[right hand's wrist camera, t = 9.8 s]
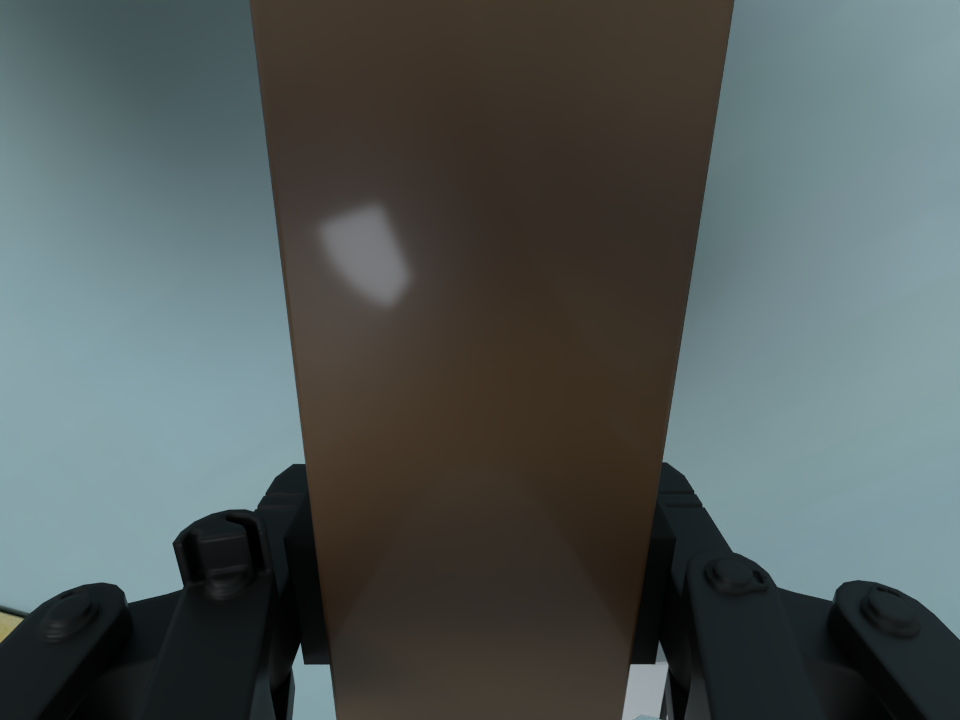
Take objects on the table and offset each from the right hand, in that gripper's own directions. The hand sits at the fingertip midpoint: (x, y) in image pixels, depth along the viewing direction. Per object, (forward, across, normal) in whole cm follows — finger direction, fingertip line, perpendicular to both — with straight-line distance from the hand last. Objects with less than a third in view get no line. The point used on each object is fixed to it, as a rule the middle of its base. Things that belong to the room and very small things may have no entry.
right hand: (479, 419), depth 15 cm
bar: (+1, 0, -33) cm, 33 cm away
